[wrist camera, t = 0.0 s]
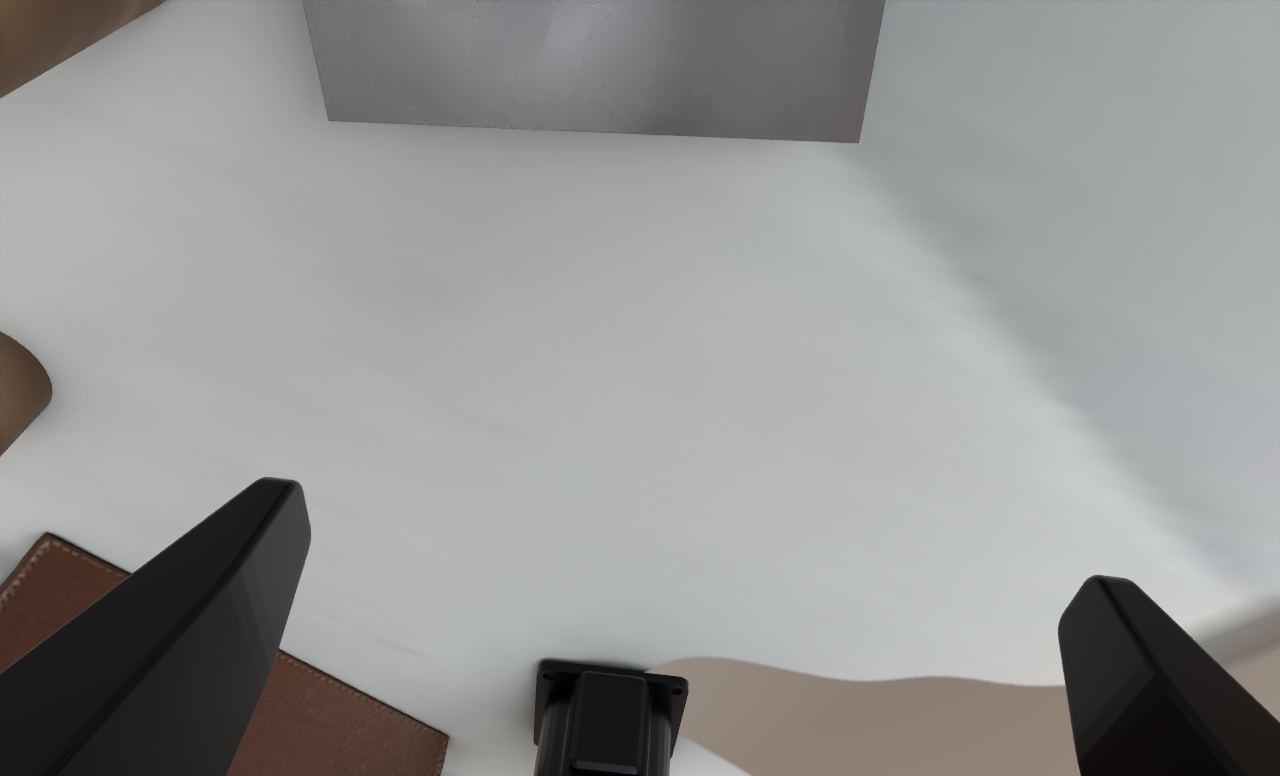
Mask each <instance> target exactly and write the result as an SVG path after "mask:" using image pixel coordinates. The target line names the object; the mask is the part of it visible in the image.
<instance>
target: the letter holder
mask: <svg viewBox="0 0 1280 776" xmlns="http://www.w3.org/2000/svg"><path fill="white" fill-rule="evenodd" d="M128 576H130V574H129V573H127V572H125V571H122V570H120V569H118V568H116V567H115V566H112V565H110V564H109V563H107V562H105V561H103V560H100V559H98V558H96V557H95V556H93V555H91V554H89V553H87V552H85V551H83V550H81V549H79V548H77V547H75V546H73V545H71V544H69V543H67V542H65V541H63V540H62V539H60V538H58V537H56V536H54V535H52V534H50V533H45V534H44V535H43V536H42V537H41V538H39V539H38V540H37V541H36V543H35V544H34V545H33V546H32V547H31V549H30V550H29V551H28V553H27V554H26V555H25V556H24V557H23V558H22V560H21V561H20V563H19V564H18V566H17V567H16V568H15V570H14V571H13V572H12V573H11V575H10V576H9V577H8V578H7V579H6V580H5V582H4V583H3V584H2V585H1V586H0V673H1V672H2V671H3V670H5V669H6V668H7V667H9V666H10V665H11V664H12V663H14V662H15V661H16V660H18V659H19V658H20V657H22V656H23V655H24V654H26V653H27V652H28V651H30V650H31V649H32V648H34V647H35V646H36V645H38V644H39V643H40V642H42V641H43V640H44V639H46V638H47V637H48V636H50V635H51V634H52V633H54V632H55V631H56V630H58V629H59V628H60V627H62V626H63V625H64V624H66V623H67V622H68V621H70V620H71V619H72V618H74V617H75V616H76V615H78V614H79V613H80V612H82V611H83V610H84V609H86V608H87V607H88V606H90V605H91V604H92V603H94V602H95V601H96V600H98V599H99V598H100V597H102V596H103V595H104V594H106V593H107V592H108V591H110V590H111V589H112V588H114V587H115V586H116V585H118V584H119V583H120V582H122V581H123V580H124V579H126V578H127V577H128ZM448 739H449V737H448V736H447V735H445V734H443V733H440V732H439V731H436V730H435V729H433V728H431V727H429V726H427V725H425V724H424V723H421V722H419V721H417V720H415V719H413V718H412V717H410V716H407V715H405V714H403V713H402V712H400V711H398V710H395V709H393V708H392V707H389V706H387V705H386V704H384V703H382V702H380V701H378V700H376V699H373V698H372V697H370V696H368V695H366V694H364V693H362V692H360V691H359V690H357V689H355V688H352V687H350V686H349V685H346V684H344V683H343V682H341V681H339V680H337V679H335V678H333V677H331V676H329V675H327V674H325V673H323V672H321V671H320V670H317V669H316V668H314V667H312V666H310V665H307V664H306V663H304V662H302V661H300V660H298V659H295V658H294V657H292V656H290V655H288V654H285V653H284V652H282V651H280V650H278V652H277V655H276V658H275V661H274V664H273V667H272V670H271V673H270V675H269V678H268V680H267V683H266V685H265V688H264V690H263V692H262V695H261V697H260V699H259V702H258V704H257V706H256V708H255V711H254V713H253V715H252V718H251V720H250V722H249V724H248V727H247V729H246V731H245V734H244V736H243V738H242V741H241V743H240V745H239V747H238V750H237V752H236V754H235V757H234V759H233V761H232V763H231V766H230V768H229V770H228V773H227V775H226V776H440V775H441V771H442V768H443V763H444V759H445V755H446V749H447V745H448Z"/></svg>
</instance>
